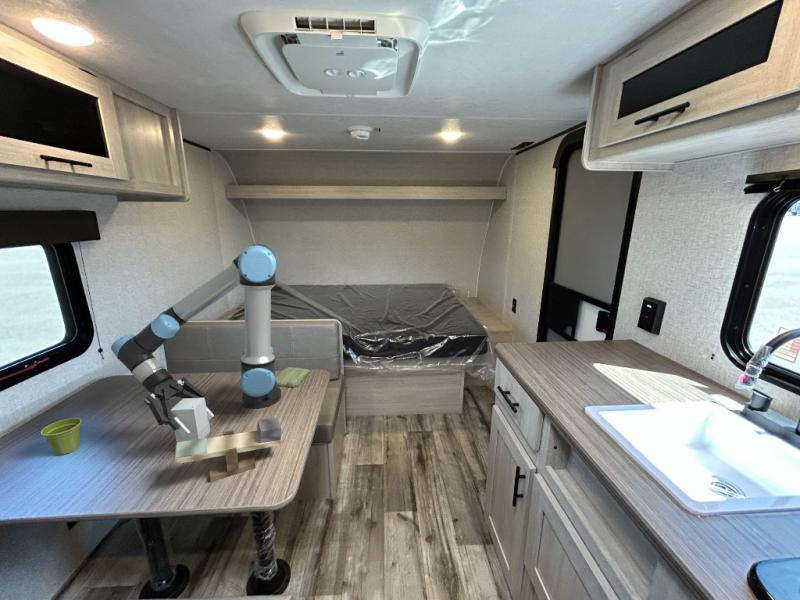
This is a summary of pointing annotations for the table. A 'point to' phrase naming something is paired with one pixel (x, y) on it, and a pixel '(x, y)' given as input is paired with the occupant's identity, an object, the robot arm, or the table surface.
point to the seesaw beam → (230, 442)
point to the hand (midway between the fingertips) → (199, 426)
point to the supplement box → (192, 418)
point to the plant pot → (63, 435)
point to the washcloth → (291, 377)
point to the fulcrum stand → (230, 462)
